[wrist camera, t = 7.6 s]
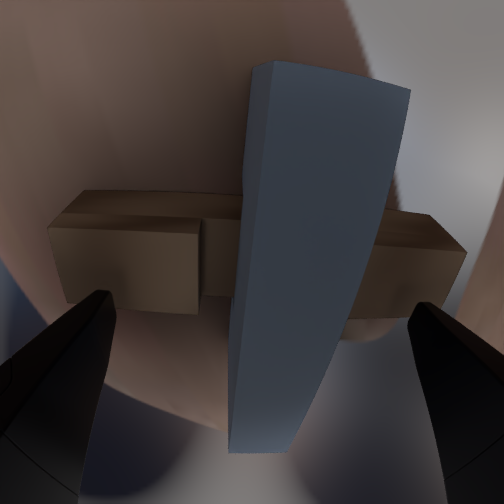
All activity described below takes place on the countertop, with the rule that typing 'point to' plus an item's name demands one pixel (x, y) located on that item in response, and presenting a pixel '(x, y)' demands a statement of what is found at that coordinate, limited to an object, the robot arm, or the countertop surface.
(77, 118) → the countertop surface
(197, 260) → the walnut rail
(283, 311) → the blue board
